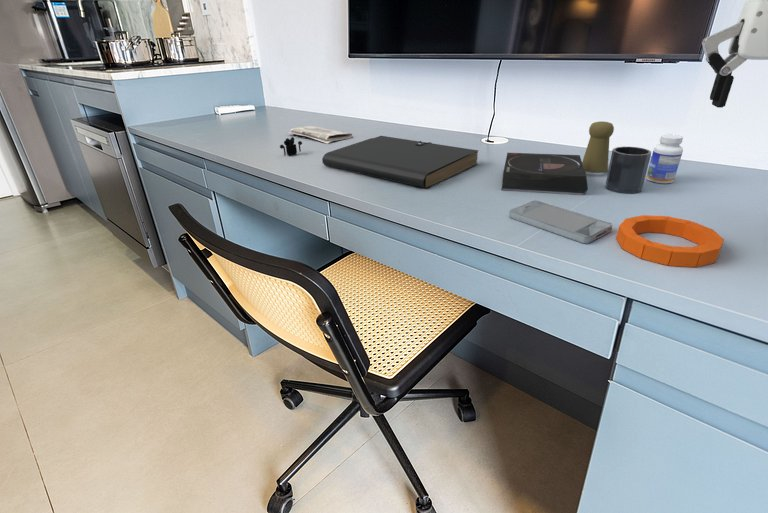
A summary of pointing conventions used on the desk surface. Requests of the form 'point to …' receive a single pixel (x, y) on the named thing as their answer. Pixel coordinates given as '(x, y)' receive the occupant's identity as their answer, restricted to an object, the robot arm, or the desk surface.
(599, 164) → the olive pawn
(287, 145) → the wireless earbuds
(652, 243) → the ring
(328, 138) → the newspaper
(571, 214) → the phone
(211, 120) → the desk surface
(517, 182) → the portable cd player
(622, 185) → the cup
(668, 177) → the pill bottle
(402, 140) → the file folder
